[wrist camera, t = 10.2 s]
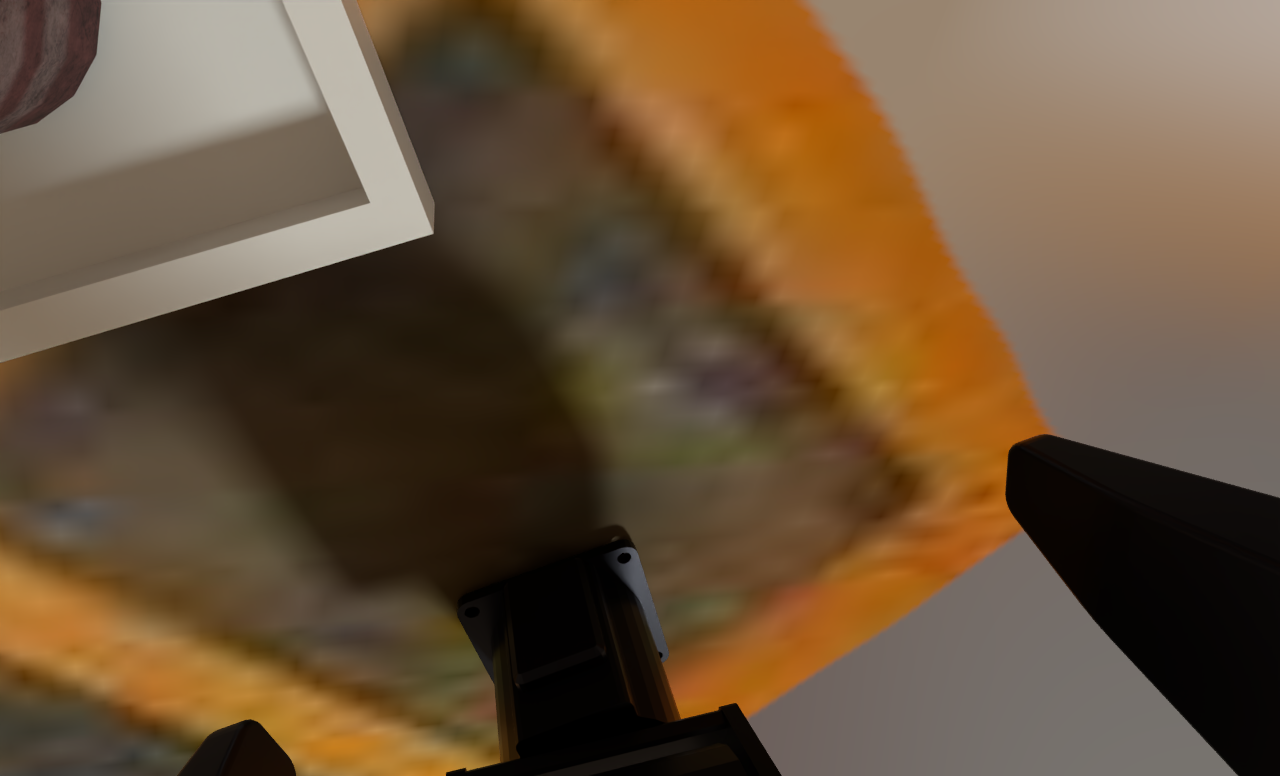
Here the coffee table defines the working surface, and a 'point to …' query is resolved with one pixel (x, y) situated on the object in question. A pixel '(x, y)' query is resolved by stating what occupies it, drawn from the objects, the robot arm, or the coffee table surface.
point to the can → (43, 56)
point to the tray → (201, 166)
